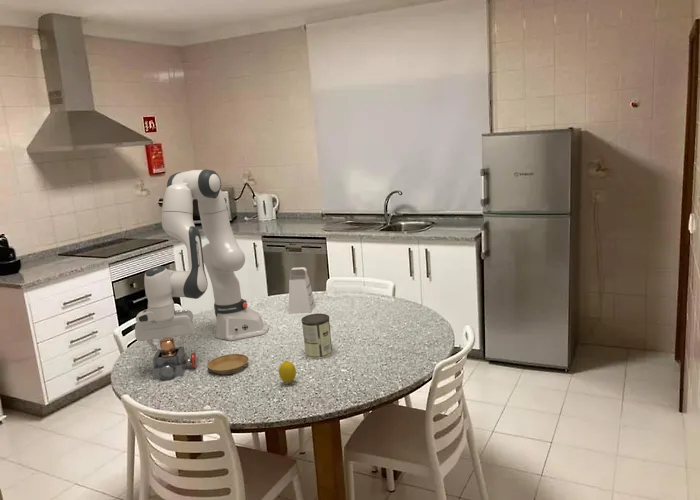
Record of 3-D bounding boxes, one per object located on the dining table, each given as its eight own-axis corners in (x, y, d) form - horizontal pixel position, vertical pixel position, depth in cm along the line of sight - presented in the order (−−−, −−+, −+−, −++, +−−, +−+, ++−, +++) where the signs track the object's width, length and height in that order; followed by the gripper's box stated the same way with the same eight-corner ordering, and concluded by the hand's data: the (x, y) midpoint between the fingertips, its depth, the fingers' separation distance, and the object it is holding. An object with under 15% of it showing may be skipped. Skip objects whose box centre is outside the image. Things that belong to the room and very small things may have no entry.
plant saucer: (214, 361, 213) (213, 354, 212) (253, 358, 212) (252, 352, 211) (203, 378, 198) (202, 371, 198) (244, 375, 197) (243, 368, 197)
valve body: (161, 364, 214) (158, 346, 212) (199, 359, 215) (196, 341, 214) (152, 382, 198) (149, 363, 197) (193, 376, 200) (190, 358, 198)
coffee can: (311, 347, 217) (307, 312, 214) (336, 349, 214) (333, 313, 211) (300, 358, 208) (296, 322, 205) (326, 360, 204) (323, 323, 202)
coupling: (177, 357, 208) (174, 336, 207) (175, 362, 203) (172, 341, 202) (163, 358, 208) (160, 338, 206) (161, 364, 203) (158, 343, 201)
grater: (293, 306, 271) (289, 266, 267) (315, 305, 269) (311, 265, 265) (288, 313, 261) (284, 271, 256) (310, 313, 259) (306, 270, 255)
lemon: (280, 380, 191) (278, 358, 189) (297, 378, 191) (294, 356, 189) (280, 387, 185) (277, 365, 184) (297, 385, 186) (294, 363, 184)
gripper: (193, 306, 206) (198, 341, 209) (135, 313, 204) (141, 349, 206) (190, 311, 200) (196, 348, 203) (130, 318, 197) (137, 355, 200)
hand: (167, 348), depth 205 cm, fingers open, 8 cm apart
